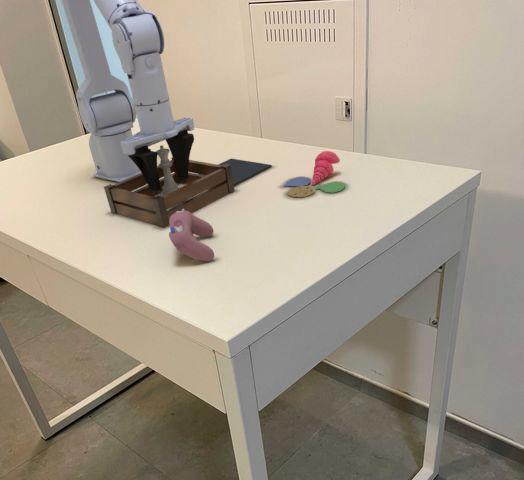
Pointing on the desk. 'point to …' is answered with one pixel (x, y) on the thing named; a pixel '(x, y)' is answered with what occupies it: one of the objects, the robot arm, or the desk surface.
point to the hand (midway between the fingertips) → (169, 183)
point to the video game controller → (190, 235)
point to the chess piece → (166, 172)
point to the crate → (155, 208)
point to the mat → (244, 169)
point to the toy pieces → (317, 177)
